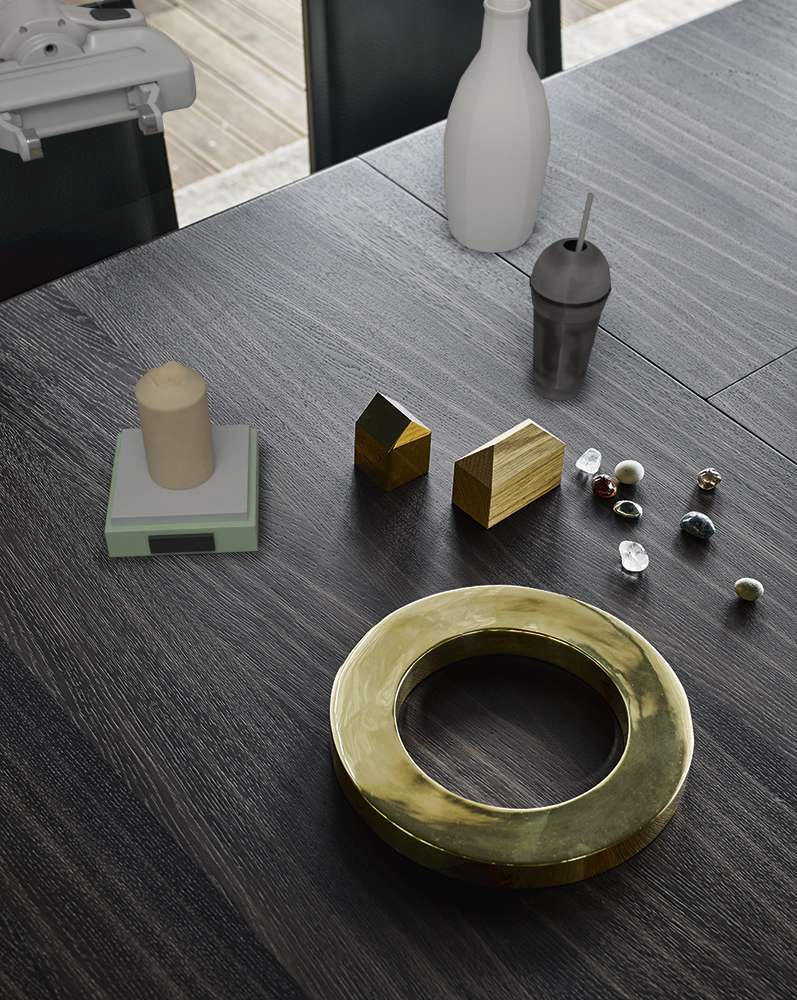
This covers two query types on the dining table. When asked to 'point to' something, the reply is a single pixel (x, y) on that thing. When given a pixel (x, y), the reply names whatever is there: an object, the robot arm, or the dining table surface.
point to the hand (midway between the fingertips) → (94, 137)
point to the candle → (176, 426)
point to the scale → (185, 501)
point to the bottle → (497, 137)
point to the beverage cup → (567, 311)
